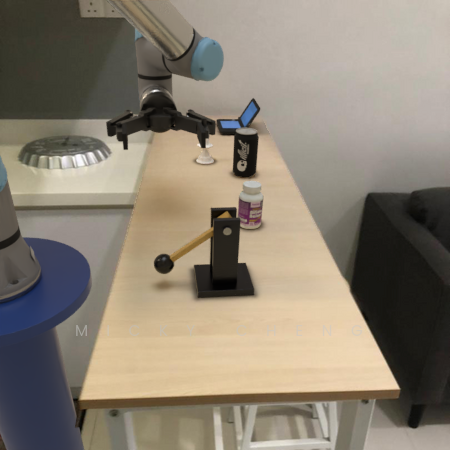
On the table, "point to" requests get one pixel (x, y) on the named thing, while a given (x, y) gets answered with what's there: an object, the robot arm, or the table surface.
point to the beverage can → (245, 152)
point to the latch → (182, 250)
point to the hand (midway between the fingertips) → (164, 141)
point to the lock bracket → (223, 260)
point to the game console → (239, 119)
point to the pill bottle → (250, 205)
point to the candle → (205, 153)
